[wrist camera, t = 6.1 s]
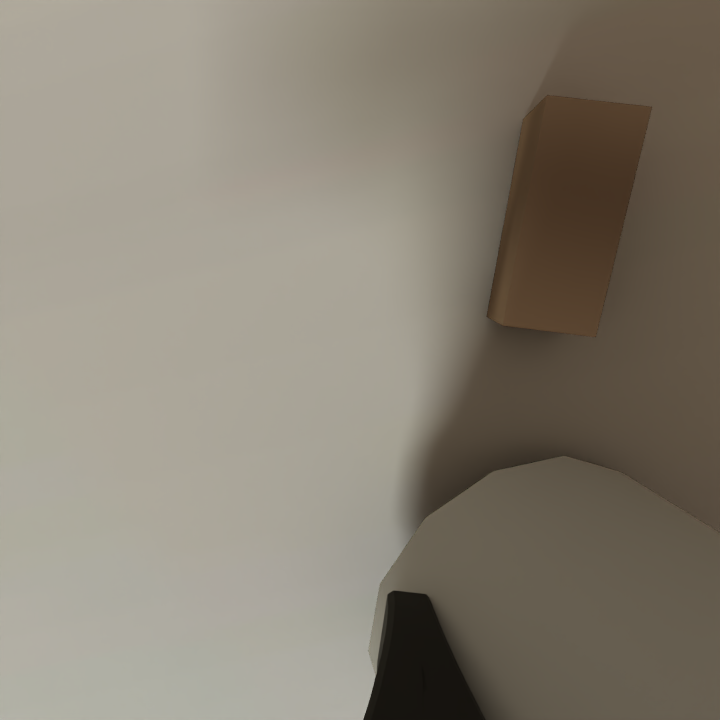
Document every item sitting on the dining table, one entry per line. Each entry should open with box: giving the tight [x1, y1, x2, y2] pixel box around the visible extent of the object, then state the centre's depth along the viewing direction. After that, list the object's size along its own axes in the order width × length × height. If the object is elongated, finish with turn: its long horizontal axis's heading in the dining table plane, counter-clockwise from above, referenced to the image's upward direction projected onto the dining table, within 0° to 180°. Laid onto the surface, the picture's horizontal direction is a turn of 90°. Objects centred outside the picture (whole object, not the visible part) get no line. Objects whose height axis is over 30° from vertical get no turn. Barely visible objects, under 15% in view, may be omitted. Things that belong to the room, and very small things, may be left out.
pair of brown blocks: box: [487, 95, 652, 337], centre depth 12 cm, size 24×2×2 cm, turn 173°
